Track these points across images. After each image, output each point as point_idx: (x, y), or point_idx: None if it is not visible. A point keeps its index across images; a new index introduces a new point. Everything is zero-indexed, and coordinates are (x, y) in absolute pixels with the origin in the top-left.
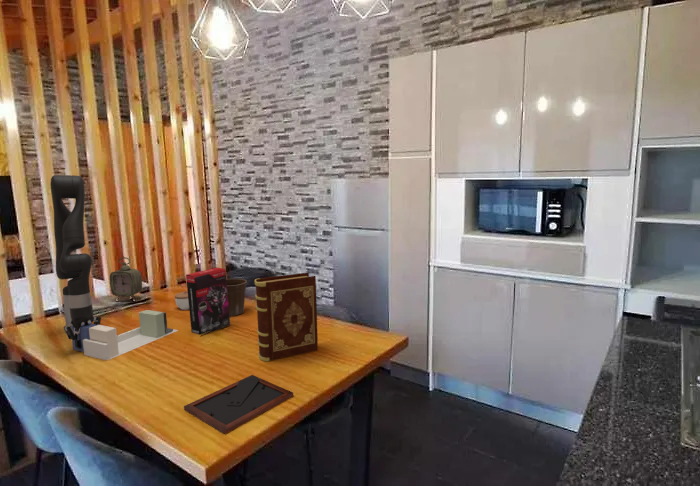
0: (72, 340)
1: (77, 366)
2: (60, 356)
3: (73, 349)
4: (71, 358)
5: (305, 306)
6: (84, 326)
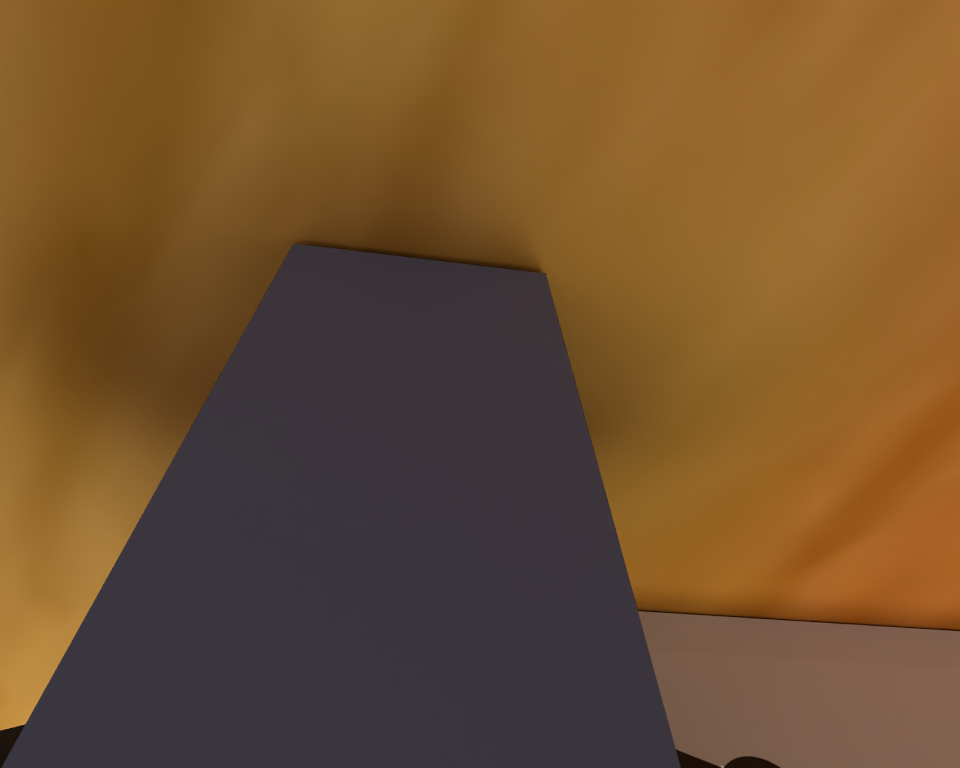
0: (204, 424)
1: (33, 682)
2: (11, 162)
3: (279, 280)
4: (108, 445)
5: None
6: None
